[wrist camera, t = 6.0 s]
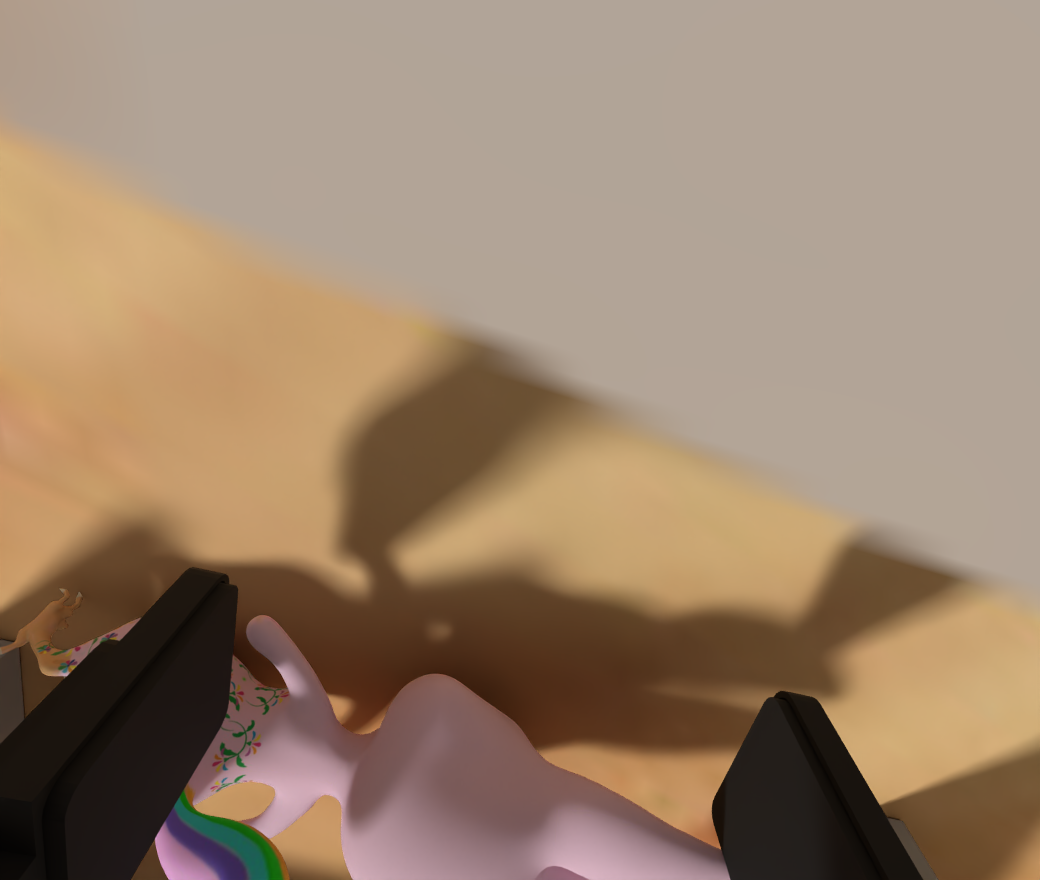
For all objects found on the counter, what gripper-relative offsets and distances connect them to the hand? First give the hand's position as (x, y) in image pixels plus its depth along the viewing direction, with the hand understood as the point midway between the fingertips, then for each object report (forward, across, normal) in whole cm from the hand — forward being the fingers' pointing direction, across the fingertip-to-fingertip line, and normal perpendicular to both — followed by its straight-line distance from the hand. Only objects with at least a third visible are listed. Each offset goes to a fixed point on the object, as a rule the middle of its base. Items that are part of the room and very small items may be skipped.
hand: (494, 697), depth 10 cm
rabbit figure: (+3, +2, +3) cm, 4 cm away
